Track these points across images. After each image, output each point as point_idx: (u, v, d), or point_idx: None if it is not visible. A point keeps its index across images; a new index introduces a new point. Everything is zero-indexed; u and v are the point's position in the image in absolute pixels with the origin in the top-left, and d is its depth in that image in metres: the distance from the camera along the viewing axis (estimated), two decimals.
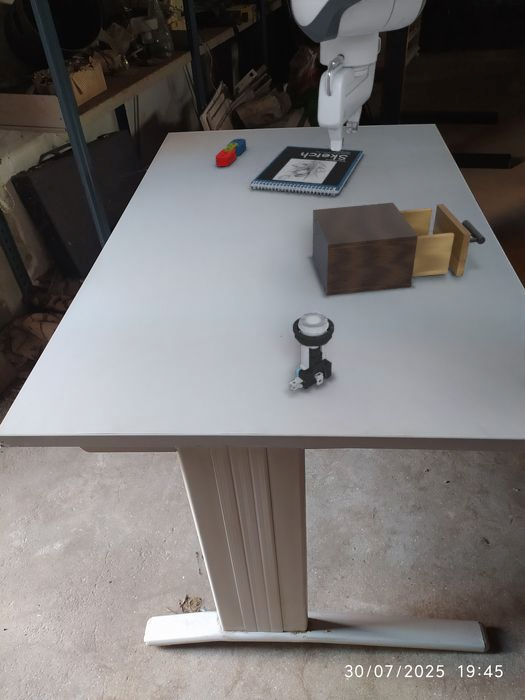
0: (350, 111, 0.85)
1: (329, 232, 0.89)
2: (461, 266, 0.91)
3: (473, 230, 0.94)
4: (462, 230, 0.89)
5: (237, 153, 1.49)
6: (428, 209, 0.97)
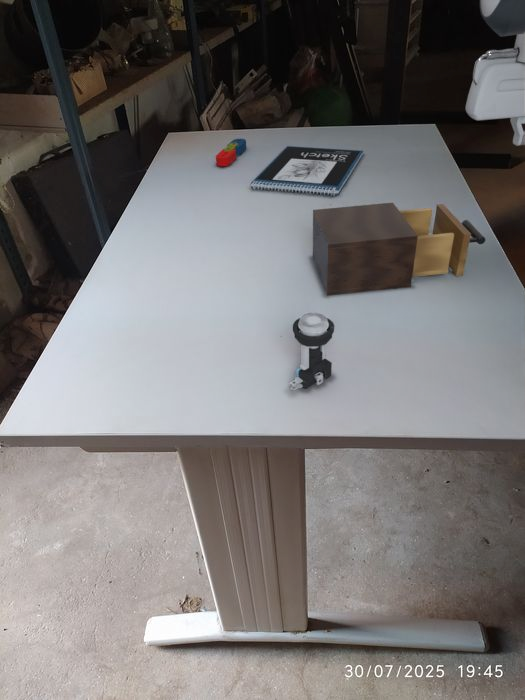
0: (512, 110, 0.81)
1: (329, 232, 0.89)
2: (461, 266, 0.91)
3: (473, 230, 0.94)
4: (462, 230, 0.89)
5: (237, 153, 1.49)
6: (428, 209, 0.97)
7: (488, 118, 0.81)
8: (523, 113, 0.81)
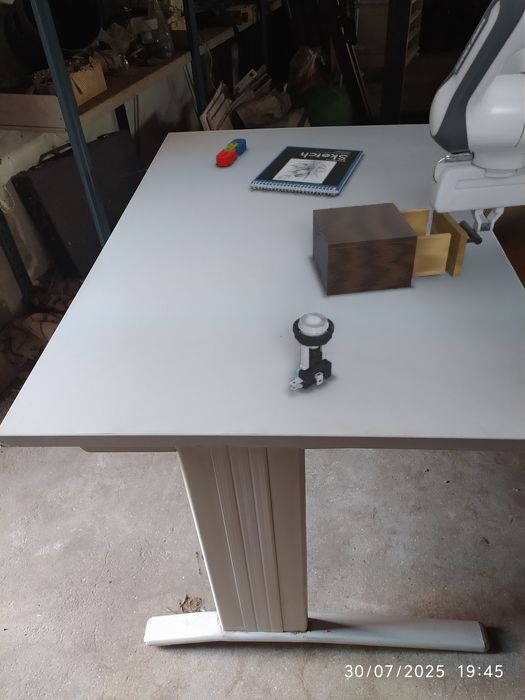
0: (470, 204, 0.90)
1: (329, 232, 0.89)
2: (458, 266, 0.91)
3: (470, 230, 0.94)
4: (459, 230, 0.89)
5: (237, 153, 1.49)
6: (425, 209, 0.97)
7: (448, 211, 0.90)
8: (480, 206, 0.90)
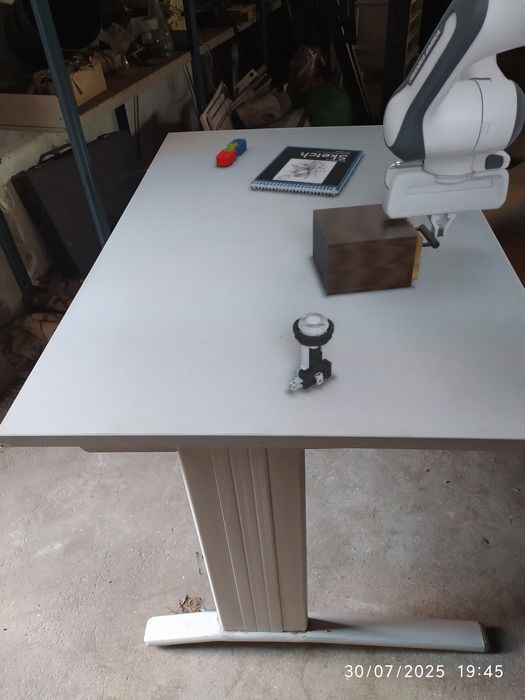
0: (422, 210, 0.89)
1: (329, 232, 0.89)
2: (415, 271, 0.91)
3: (428, 234, 0.93)
4: None
5: (237, 153, 1.49)
6: None
7: (401, 217, 0.90)
8: (432, 212, 0.90)
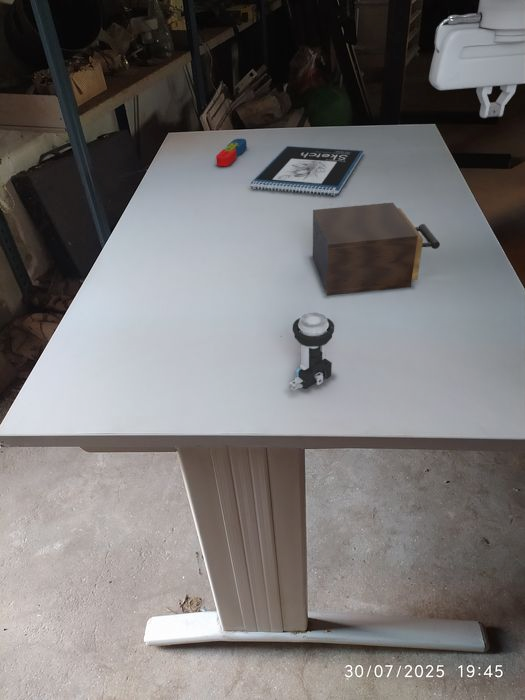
0: (477, 79, 0.78)
1: (329, 232, 0.89)
2: (415, 271, 0.91)
3: (428, 234, 0.93)
4: None
5: (237, 153, 1.49)
6: None
7: (452, 88, 0.78)
8: (488, 82, 0.78)
